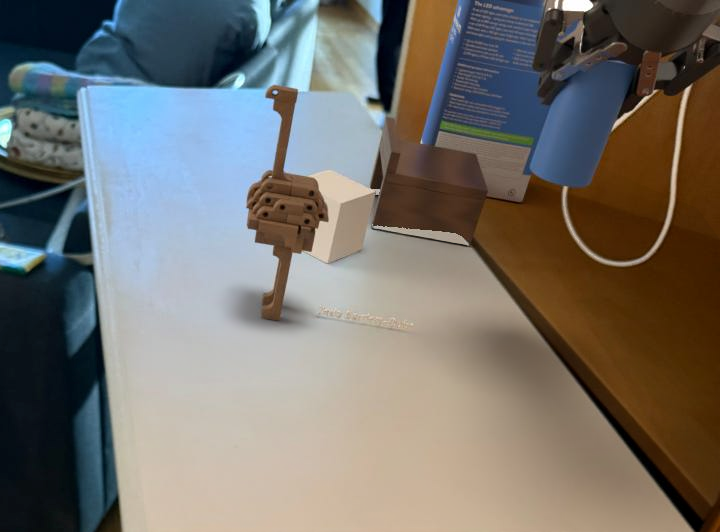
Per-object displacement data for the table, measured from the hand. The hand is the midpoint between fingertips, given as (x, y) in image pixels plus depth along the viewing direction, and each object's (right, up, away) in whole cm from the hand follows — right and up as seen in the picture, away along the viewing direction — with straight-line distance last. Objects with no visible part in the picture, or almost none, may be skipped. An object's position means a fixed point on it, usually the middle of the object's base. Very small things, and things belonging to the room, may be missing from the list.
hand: (580, 99), depth 75 cm
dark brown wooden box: (-7, +4, +30) cm, 31 cm away
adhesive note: (-19, -3, +21) cm, 29 cm away
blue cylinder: (-1, -5, +2) cm, 6 cm away
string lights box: (+1, +13, +40) cm, 42 cm away
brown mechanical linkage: (-20, -14, +10) cm, 27 cm away
